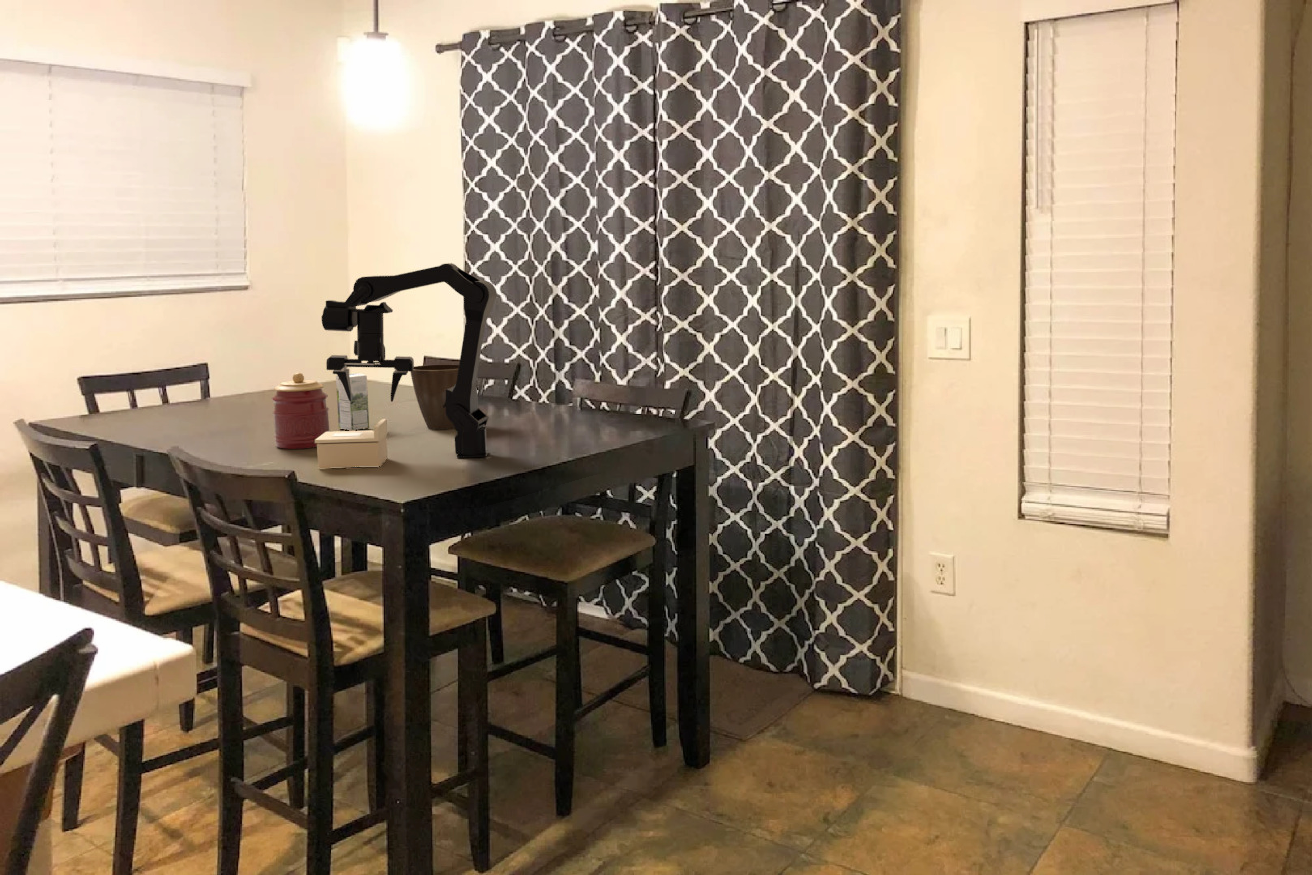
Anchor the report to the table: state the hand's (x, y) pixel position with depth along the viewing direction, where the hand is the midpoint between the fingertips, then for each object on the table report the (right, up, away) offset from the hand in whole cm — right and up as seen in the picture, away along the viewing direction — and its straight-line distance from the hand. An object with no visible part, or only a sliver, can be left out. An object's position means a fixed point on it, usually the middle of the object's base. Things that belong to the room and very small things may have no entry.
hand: (371, 401), depth 250 cm
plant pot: (+9, -6, +39) cm, 41 cm away
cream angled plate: (-2, -8, -8) cm, 12 cm away
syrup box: (-14, -6, +39) cm, 42 cm away
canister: (-21, -10, +18) cm, 29 cm away
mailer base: (-2, -14, -7) cm, 16 cm away
